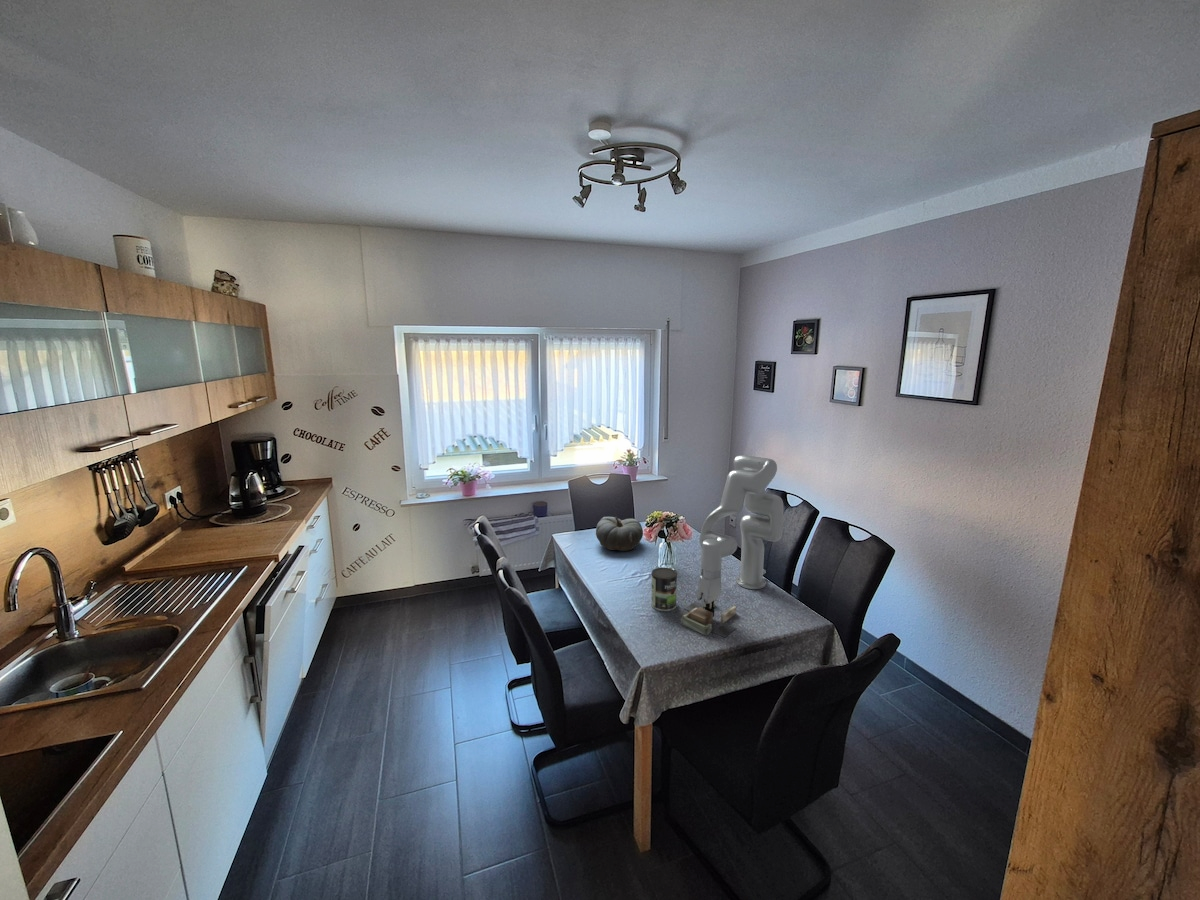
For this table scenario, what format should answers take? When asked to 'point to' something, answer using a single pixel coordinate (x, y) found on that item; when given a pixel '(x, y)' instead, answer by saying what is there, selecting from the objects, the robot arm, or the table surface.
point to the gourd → (619, 533)
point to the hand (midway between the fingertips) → (709, 616)
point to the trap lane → (721, 630)
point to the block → (702, 616)
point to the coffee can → (664, 589)
